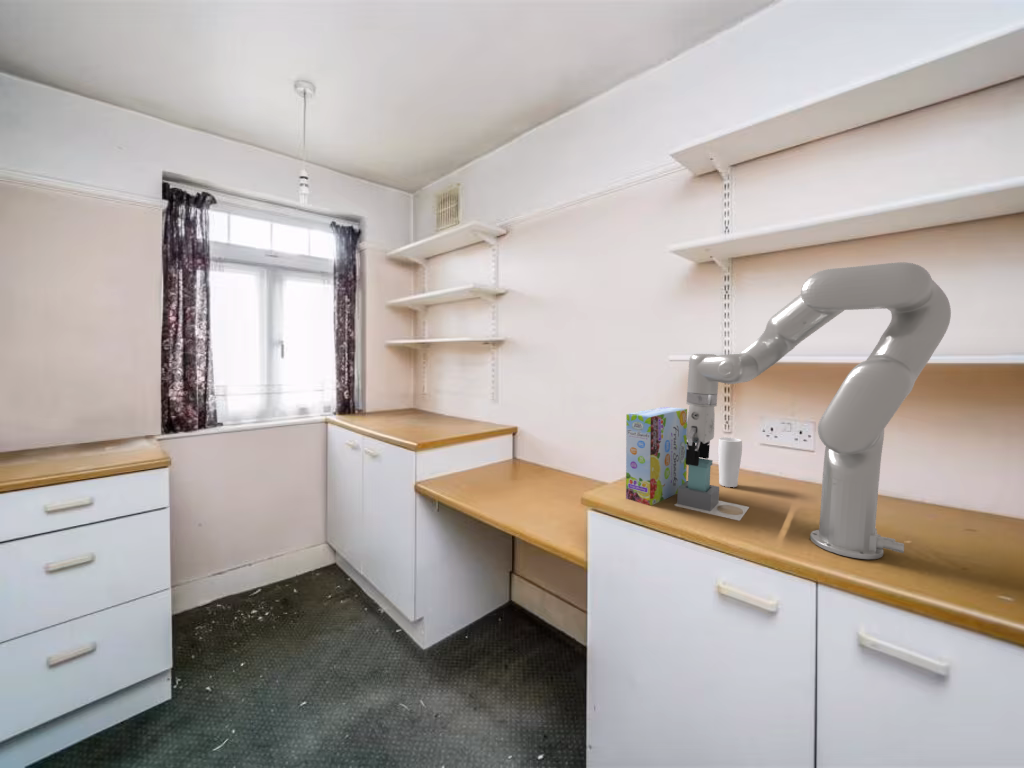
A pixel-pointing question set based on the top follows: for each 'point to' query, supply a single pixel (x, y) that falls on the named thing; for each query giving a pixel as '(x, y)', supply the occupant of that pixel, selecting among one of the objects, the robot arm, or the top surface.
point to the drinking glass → (729, 461)
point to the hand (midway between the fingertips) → (697, 461)
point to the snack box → (655, 454)
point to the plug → (700, 475)
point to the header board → (708, 502)
